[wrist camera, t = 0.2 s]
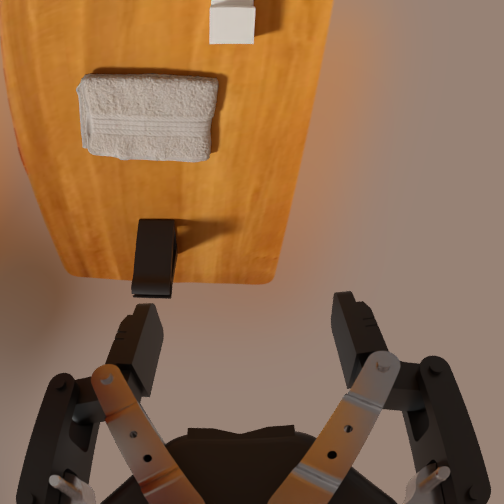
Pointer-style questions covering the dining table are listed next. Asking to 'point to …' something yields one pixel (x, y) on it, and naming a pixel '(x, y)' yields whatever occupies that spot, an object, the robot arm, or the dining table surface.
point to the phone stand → (154, 259)
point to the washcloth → (147, 116)
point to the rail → (232, 22)
